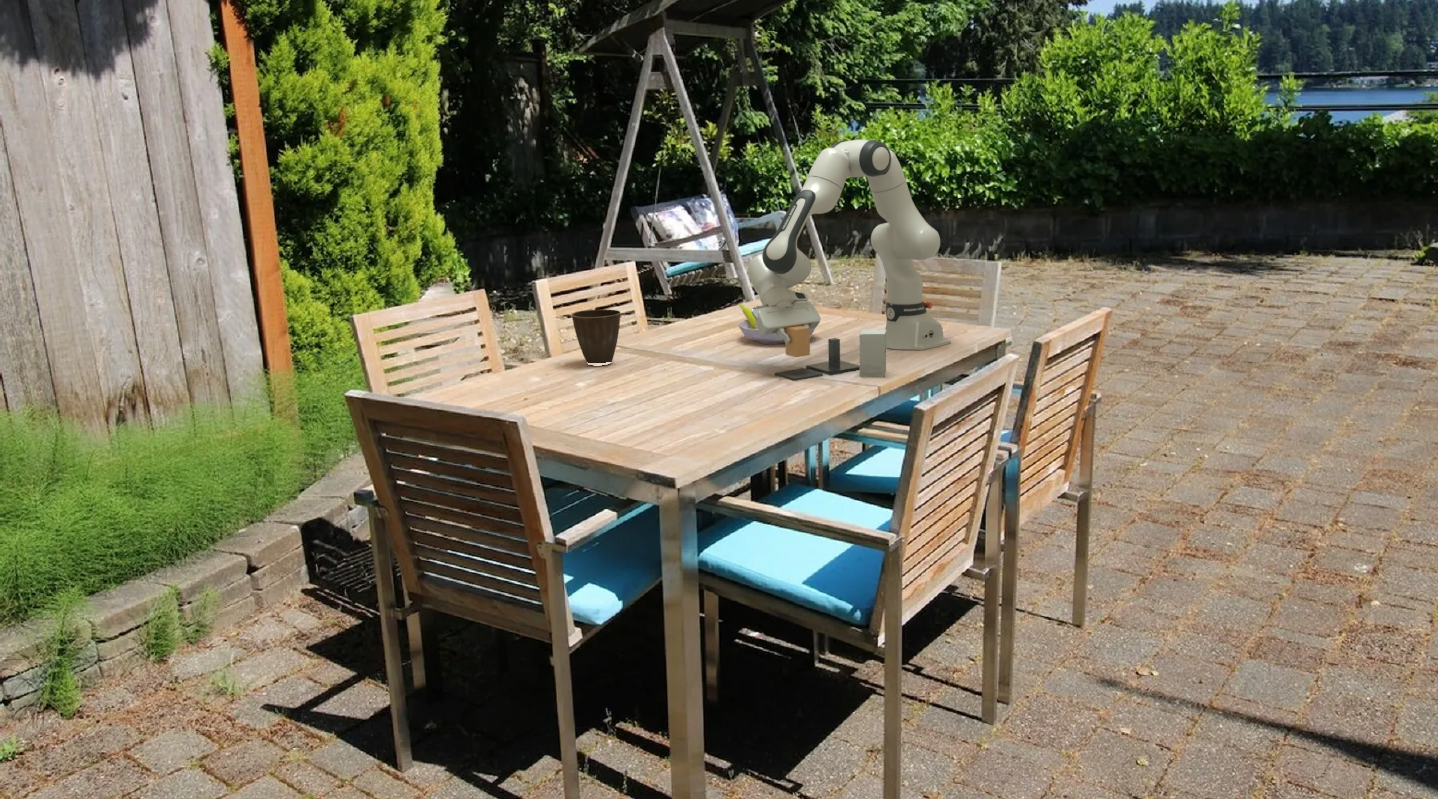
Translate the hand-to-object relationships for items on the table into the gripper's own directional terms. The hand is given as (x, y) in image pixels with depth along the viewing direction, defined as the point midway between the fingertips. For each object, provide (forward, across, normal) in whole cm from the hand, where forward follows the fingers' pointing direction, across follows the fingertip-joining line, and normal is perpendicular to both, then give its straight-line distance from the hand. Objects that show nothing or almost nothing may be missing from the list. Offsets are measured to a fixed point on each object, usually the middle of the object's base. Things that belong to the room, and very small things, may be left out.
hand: (798, 341), depth 346 cm
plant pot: (-30, -38, +46) cm, 66 cm away
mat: (+7, 0, +8) cm, 10 cm away
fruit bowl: (-28, +26, +42) cm, 57 cm away
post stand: (+7, +13, +8) cm, 17 cm away
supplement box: (+16, +17, -2) cm, 24 cm away
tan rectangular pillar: (+2, 0, +3) cm, 4 cm away
